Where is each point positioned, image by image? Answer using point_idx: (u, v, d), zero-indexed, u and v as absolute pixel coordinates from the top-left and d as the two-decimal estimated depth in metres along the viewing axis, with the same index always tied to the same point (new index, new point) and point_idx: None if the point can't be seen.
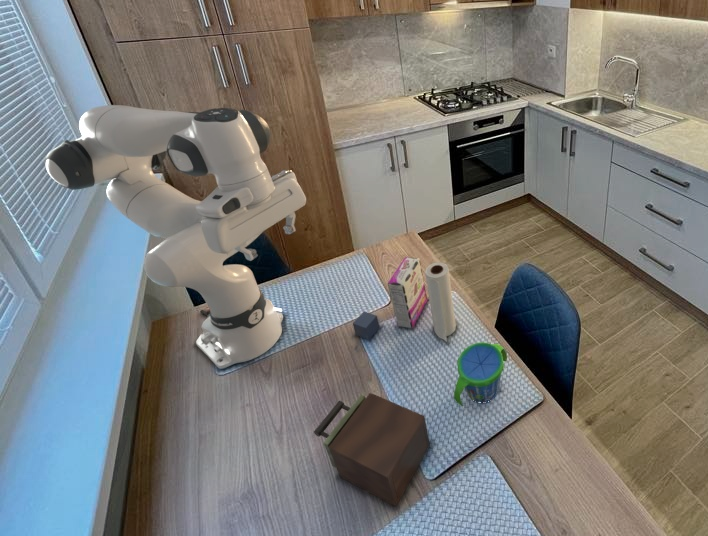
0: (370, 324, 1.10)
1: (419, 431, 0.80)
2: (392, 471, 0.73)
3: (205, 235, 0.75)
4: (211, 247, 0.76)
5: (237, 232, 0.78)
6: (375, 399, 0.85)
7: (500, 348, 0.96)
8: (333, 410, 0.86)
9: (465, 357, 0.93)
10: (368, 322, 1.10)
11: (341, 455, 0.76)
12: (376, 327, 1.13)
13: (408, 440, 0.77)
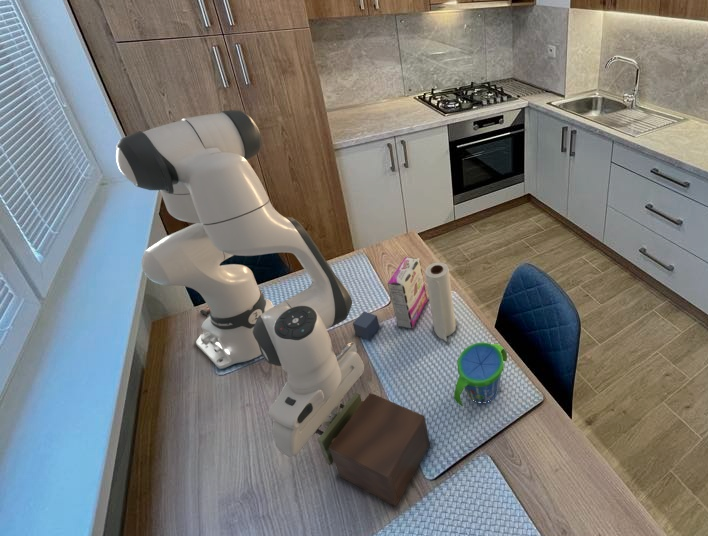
0: (370, 324, 1.10)
1: (419, 431, 0.80)
2: (392, 471, 0.73)
3: (276, 439, 0.75)
4: (280, 449, 0.75)
5: (306, 431, 0.77)
6: (375, 399, 0.85)
7: (500, 348, 0.96)
8: None
9: (465, 357, 0.93)
10: (368, 322, 1.10)
11: (341, 455, 0.76)
12: (376, 327, 1.13)
13: (408, 440, 0.77)
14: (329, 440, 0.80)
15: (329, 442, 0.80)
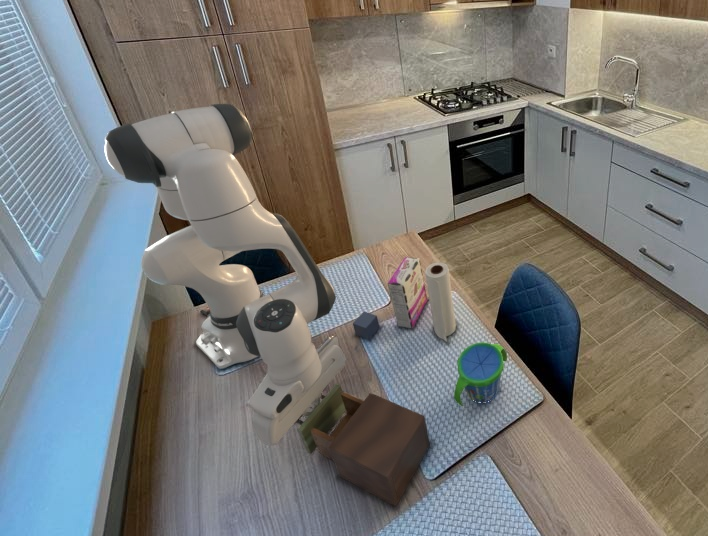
0: (370, 324, 1.10)
1: (419, 431, 0.80)
2: (392, 471, 0.73)
3: (256, 429, 0.77)
4: (260, 439, 0.77)
5: (285, 421, 0.79)
6: (375, 399, 0.85)
7: (500, 348, 0.96)
8: None
9: (465, 357, 0.93)
10: (368, 322, 1.10)
11: (341, 455, 0.76)
12: (376, 327, 1.13)
13: (408, 440, 0.77)
14: (309, 430, 0.82)
15: (309, 432, 0.82)
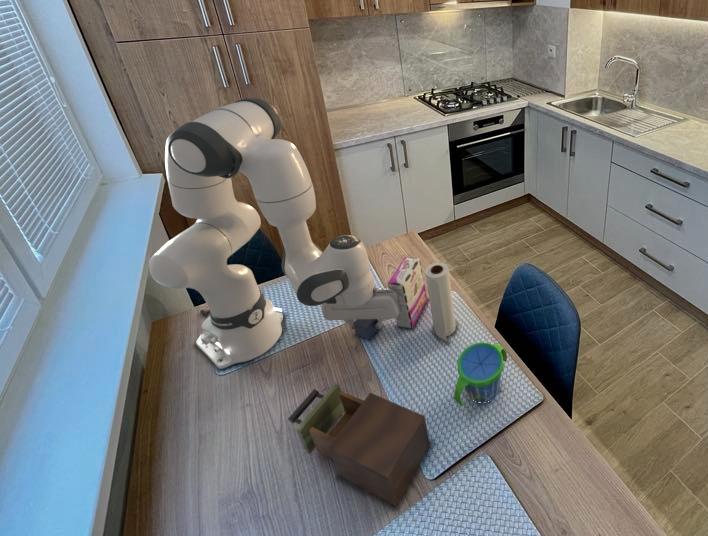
0: (371, 324, 1.10)
1: (419, 431, 0.80)
2: (392, 471, 0.73)
3: None
4: None
5: (336, 313, 1.08)
6: (375, 399, 0.85)
7: (500, 348, 0.96)
8: (308, 398, 0.89)
9: (465, 357, 0.93)
10: (368, 321, 1.10)
11: (341, 455, 0.76)
12: None
13: (408, 440, 0.77)
14: (307, 429, 0.82)
15: (307, 431, 0.82)
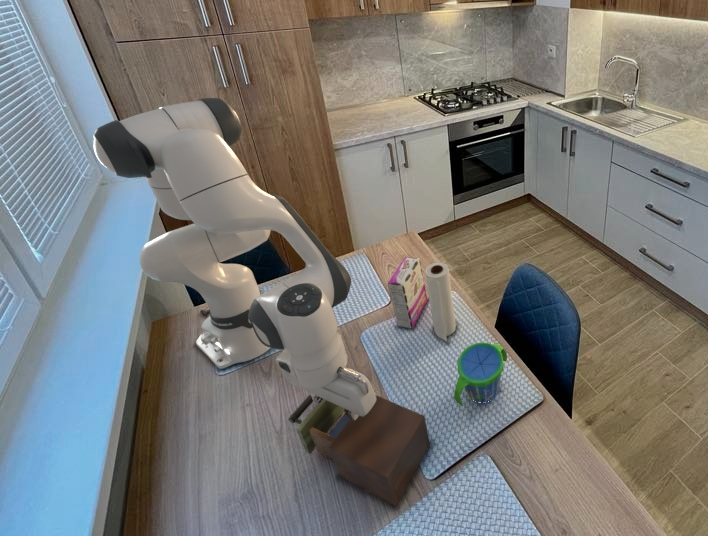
0: None
1: (419, 431, 0.80)
2: (392, 471, 0.73)
3: None
4: None
5: (298, 380, 0.79)
6: None
7: (500, 348, 0.96)
8: (308, 398, 0.89)
9: (465, 357, 0.93)
10: None
11: (341, 455, 0.76)
12: None
13: (408, 440, 0.77)
14: (308, 429, 0.82)
15: (307, 431, 0.82)
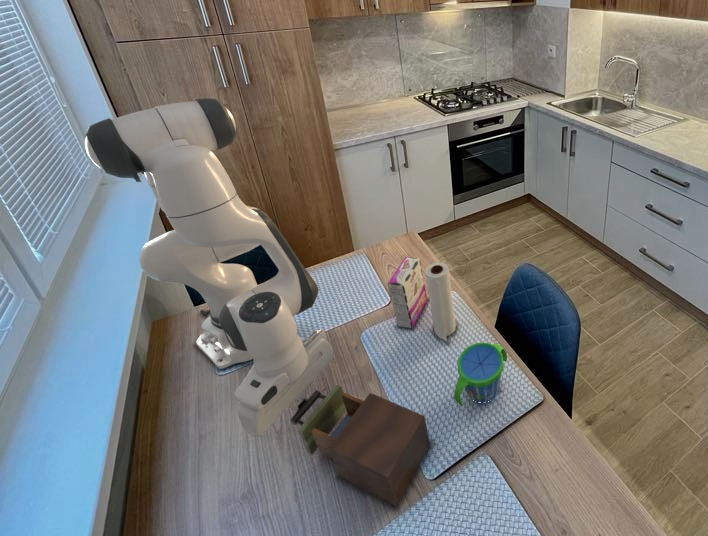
0: None
1: (419, 431, 0.80)
2: (392, 471, 0.73)
3: (241, 420, 0.77)
4: (246, 430, 0.78)
5: (271, 413, 0.80)
6: (375, 399, 0.85)
7: (500, 348, 0.96)
8: (310, 399, 0.89)
9: (465, 357, 0.93)
10: None
11: (341, 455, 0.76)
12: None
13: (408, 440, 0.77)
14: (310, 430, 0.82)
15: (309, 432, 0.82)
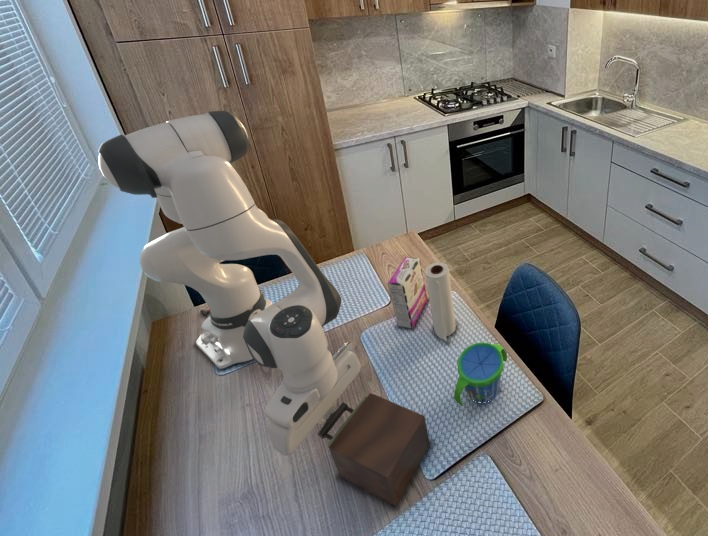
0: None
1: (419, 431, 0.80)
2: (392, 471, 0.73)
3: (272, 438, 0.75)
4: (276, 448, 0.75)
5: (301, 430, 0.77)
6: (375, 399, 0.85)
7: (500, 348, 0.96)
8: (337, 412, 0.86)
9: (465, 357, 0.93)
10: None
11: (341, 455, 0.76)
12: None
13: (408, 440, 0.77)
14: None
15: None
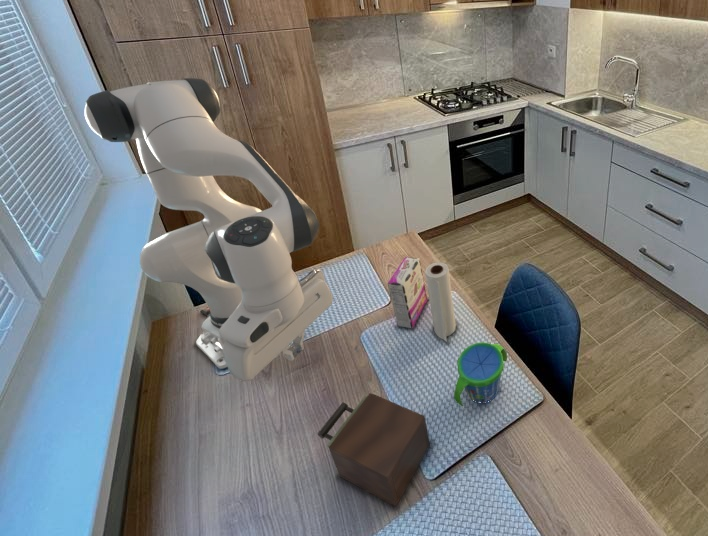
0: None
1: (419, 431, 0.80)
2: (392, 471, 0.73)
3: (227, 361, 0.67)
4: (233, 374, 0.68)
5: (262, 355, 0.70)
6: (375, 399, 0.85)
7: (500, 348, 0.96)
8: (337, 412, 0.86)
9: (465, 357, 0.93)
10: None
11: (341, 455, 0.76)
12: None
13: (408, 440, 0.77)
14: None
15: None
